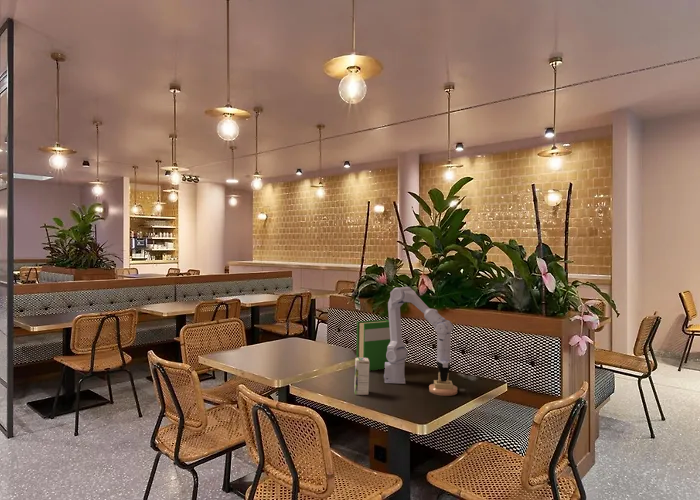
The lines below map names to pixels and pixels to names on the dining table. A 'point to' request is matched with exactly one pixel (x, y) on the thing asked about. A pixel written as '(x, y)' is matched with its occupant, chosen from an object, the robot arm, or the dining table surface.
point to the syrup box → (361, 376)
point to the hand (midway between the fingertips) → (443, 380)
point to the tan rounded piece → (443, 388)
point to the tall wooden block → (443, 381)
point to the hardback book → (373, 342)
